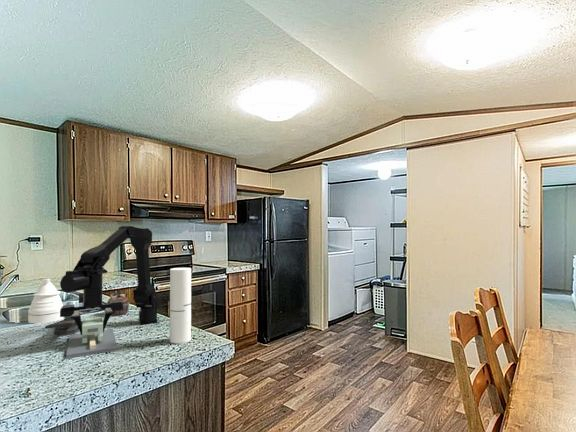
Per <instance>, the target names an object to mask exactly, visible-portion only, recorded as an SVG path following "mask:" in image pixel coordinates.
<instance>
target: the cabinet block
mask: <svg viewBox="0 0 576 432" xmlns="http://www.w3.org/2000/svg"><path fill="white" fill-rule="evenodd" d="M82 321H83V324H82V343H87V335H91V334H98V341H102V340H103V317H94V318H86V319H85V318H84V319H82Z"/></svg>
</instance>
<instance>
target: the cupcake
mask: <svg viewBox="0 0 576 432" xmlns="http://www.w3.org/2000/svg"><path fill="white" fill-rule="evenodd" d="M115 300H121V301H122V302H123V310H121V311H114V312H115V313H114V314H111V316H112V317H119V316H120V315H121V316H125V315H127V314H128V312H129V308H130V301H129V298H127V296H126V294H124V293H122V291H119V292H112V293H111V294H110V295H109V298H108V301H107V302H106V304H110V301H115ZM111 316H110V317H111ZM121 316H120V317H121Z"/></svg>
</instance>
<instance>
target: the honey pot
mask: <svg viewBox="0 0 576 432" xmlns="http://www.w3.org/2000/svg"><path fill="white" fill-rule="evenodd" d="M42 281H43V283H41V285H40V286H39V287H38V288H37V290H36V292H35V293H33V295H32V296H33V299H32V300H31V304H30V307H29V308H28V309H27V310H28V311H27V312H28V315H27V319H28V321H27V323H28V324H31V323H41V324H48V323H47V322H49V323H54V322H53V321H55V322H58V321H57V320H59V321H61V320H64V318H65V317H60V309H61V307H62V306H64V304H63V301H62V298H61V296H60V294H61V293H62V292H61V291H60V290H58V289H57V288H56V286H55V285H54V284H53V283H52V282H51V278H43V280H42Z"/></svg>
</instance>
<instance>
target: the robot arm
mask: <svg viewBox="0 0 576 432" xmlns="http://www.w3.org/2000/svg"><path fill="white" fill-rule="evenodd" d="M128 239H129V240H130V245H131V246H132V248H133V249H134V251H135V259H136V261H135V263H136V274H137V285H136V288H135V289H133V290H132V295H133V300H134V303H135V307H136V308H137V309H138V308H139V311H138V322H139V323H140V324H141V325H146V324H147V325H149V324H155V323H158V322H159V321H158V309H159V308H160V307H161V305H162V301H161V299H160V298H159V297H158V295H157V293H156V288H155V287H154V285H153V284H152V279H151V268H150V267H151V266H150V253H149V249H150V248H151V245H152V243H153V232H152V230H151V229H150V228H148V227H147V228H140V227H135V226H132V225H121V226H119V227H118V229H117V230H116V231H115V232H113V233H112V234H111V235H110V236H109V237H107V239H105V240H104V241H103V242H101V243H100V244H99V245H97V246H93V247H91V248H89V249H88V250H85V251H83V252H82V253H81V255H80V258H79V260H78V261H77V263H76V265H75V266H74V268H73V269H72V270H67V271H65V274H64V275H63V276H62V278H61V280H60V281H59V282H60V283H59V286H60V289H61V290H62V291H63V292H64V293H66V294H67V293H74V292H79V291H82V290H83V292H80V293H78V303H79V304H82V306H76V305H75V304H66V305H64V304H63V305H64V306H62V307H61V309H60V317H64V318H65V317H67V316H70V319H72V318H73V319H74V320H75V322H76V324H77V326H78V328H79V331H78V332H79V334H81V335H82V322H81V321H82V316H81V313H82V312H92V311H93V312H95V311H102V310H104V312H103V313H104V314H103V318H102V320H103V332H104V330H106V327H107V324H108V321H109V319H110V318H111V314H114V313H115V312H114V311H121V310H123V302H122V301H121V300H115V301H110V304H107V303H103V274H107V273H108V270H107V269H105V267H104V266H105V265H106V264H107V263H108V261H109V260H110V258H111V257H110V256H111V254H112V253H113V252H114V251H115V250H116V249H118V248H119V247H120V246H121V245H122V244H123V243H125V241H126V240H128Z"/></svg>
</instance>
